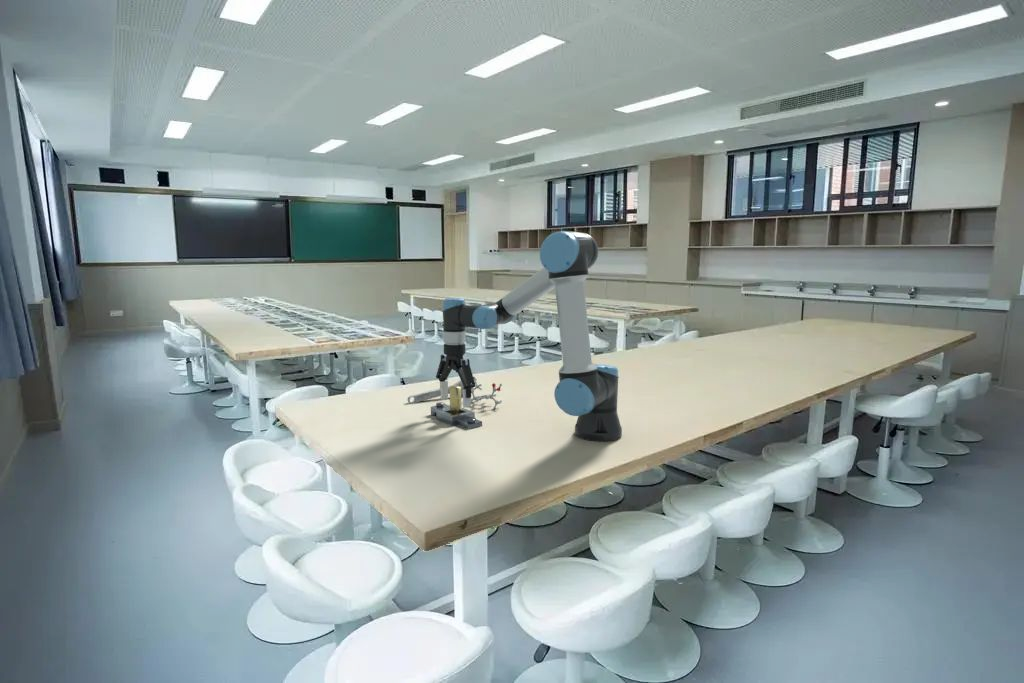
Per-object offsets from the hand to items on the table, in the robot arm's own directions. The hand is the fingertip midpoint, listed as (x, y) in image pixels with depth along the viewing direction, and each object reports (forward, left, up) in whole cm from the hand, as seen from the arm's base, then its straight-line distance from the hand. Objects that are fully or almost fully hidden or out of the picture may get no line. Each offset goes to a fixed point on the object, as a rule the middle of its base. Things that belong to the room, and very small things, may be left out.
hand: (455, 402), depth 194 cm
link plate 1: (+3, 0, -6) cm, 7 cm away
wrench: (+27, -13, -7) cm, 31 cm away
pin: (0, 0, -6) cm, 6 cm away
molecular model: (+9, -19, -6) cm, 22 cm away
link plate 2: (-3, 0, -6) cm, 7 cm away
